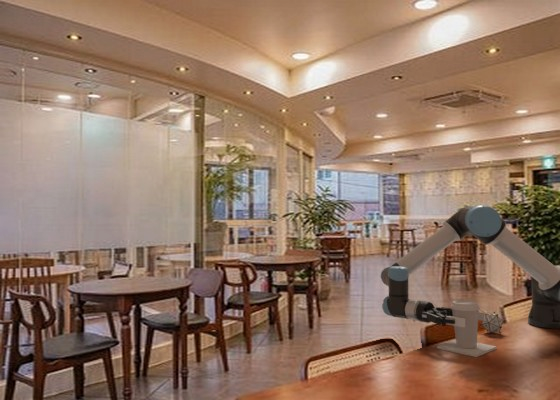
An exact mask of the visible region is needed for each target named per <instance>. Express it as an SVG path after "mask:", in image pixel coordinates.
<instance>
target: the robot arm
mask: <svg viewBox="0 0 560 400" xmlns="http://www.w3.org/2000/svg"><path fill="white" fill-rule="evenodd" d="M468 236H473V237H475V238H476V239H477V240H479V241H480V242H481V243H482V244H483V245H488V246H489V245H492V246H493V247H494V249H496V250H498V251H499V252H500V253H501V254H502V255H504V256H505V257H507V258H508V259H509V260H510V261H511V262H513V263H514V264H515V265H517V266H518V267H519V268H520V269H521V270H523V271H524V272H525V273H526V274H527V275H528V276H530V279H531V280H530V281H531V282H530V283H531V285H530V286H531V307H530V310H529V314H528V316H527V323H528V324H529V325H530V324H531V325H530V326H533V325H534V327H537V328H544V329H545V328H546V329H560V265H554V264H553V263H552V262H550V261H549V260H548V259H547V258H546V257H544V256H543V255H542V254H541V253H539V252H538V251H536V250H535V249H534V248H533V247H532V246H531V245H529V244H528V243H527V242H525V241H524V240H523V239H522V238H520V237H519V236H517V234H515V233H514V232H512V231H511V230H510V229H509V228H508V227H507V222H506V221H505V219H503V218H502V217H501V215H500V213H499V212H498V211H497V209H495V208H493V207H492V206H489V205H485V204H478V205H477V204H476V205H467V206H464V207H462V208H460V209H459V210H457V211H456V212H455V213H454V214H453V215H451V216H450V217H449V218H448V219H446V220H445V221H444V222H443V224H442V226H441V227H440V228H438V230H436V231H435V232H433V234H431V235H429V236H428V237H427V238H426V239H424V240H423V241H422V242H420V243H419V244H418V245H417V246H415V247H414V248H413V249H411V250H410V251H409V252H407V253H405V255H403V256H402V257H400V258H399V259H398V260H397V261H396V262H394V263H393V264H392V265H390V266H387V267H385V268H383V269H382V270H381V272H380V279H381V281H382V284H384V285H386V287H388V296H385V298H384V299H383V301H382V310H383V313H384V314H385V315H387V316H390V317H393V318H400V319H406V320H412V322H414V323H415V322H416V321H418V322H421V323H427V324H429V323H433V324H436V325H438V326H440V325H441V326H442V327H446V326H447V325H449V326H453V327H454V326H459V327H466V325H465V319H463V318H457V317H453V314H452V309H451V308H450V307H444V306H442V307H438V306H437V307H435V305H434V304H433V302H431V301H424V300H421V299H410V298H409V295H410V294H409V277H410V275H412V274H413V273H414V272H415V271H417V270H418V269H420V268H421V267H423V266H424V265H425V264H426V263H428V262H429V261H430V260H432V259H433V258H434V257H436V256H437V255H439V254H440V253H441V252H442V251H444V250H445V249H446V248H448V247H449V246H451V244H453V243H454V242H460V241H461V240H463V239H464V238H466V237H468ZM485 314H486V312H483V311H482V312H481V311H478V321H481V322H482V321H485Z"/></svg>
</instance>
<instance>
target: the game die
mask: <svg viewBox="0 0 560 400" xmlns="http://www.w3.org/2000/svg"><path fill="white" fill-rule="evenodd" d="M505 322H506V319H505V320H503V319H502V318H501V317H499V314H497V313H496V311H493V312H492V313H491V312H490V313H485V321H481V323H478V325H479V326H482V328H484V329H485V330H486V332H489V335H491V334H492V333H493V334H494V333H499V334H502V332H501V329H502V327H503V324H504V323H505Z"/></svg>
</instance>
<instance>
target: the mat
mask: <svg viewBox="0 0 560 400" xmlns="http://www.w3.org/2000/svg"><path fill="white" fill-rule="evenodd" d="M436 348H437V349H439V350H443V351H447V352H451V353H455V354H461V355H464V356H470V357H474V358H478V357H480V356H482V355H485V354H487V353H491V352H492V351H495V350H497V346H496V345H491V344H486V343H480V342H477V347H476V348H472V349H466V348H460V347H458V346H457V344H456V339H454V340H451V341H448V342H446V343H443V344H440V345H437V347H436Z"/></svg>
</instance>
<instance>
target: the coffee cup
mask: <svg viewBox="0 0 560 400" xmlns="http://www.w3.org/2000/svg"><path fill="white" fill-rule="evenodd" d="M449 308H451V309H452V314H453V317H457V318H463V319H465V325H466V327H459V326H454V325H453V328H454V335H455V340H456V344H457V346H458V347H460V348H466V349H472V348H476V347H477V343H478V331H479V330H478V329H479V326H478V325H479V320H478V312H480V311H479V310H481V308H480V305H479V304H478V302H477V301H475V300H465V299H463V300H453V301H452V303H451V305H450V307H449Z"/></svg>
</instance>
